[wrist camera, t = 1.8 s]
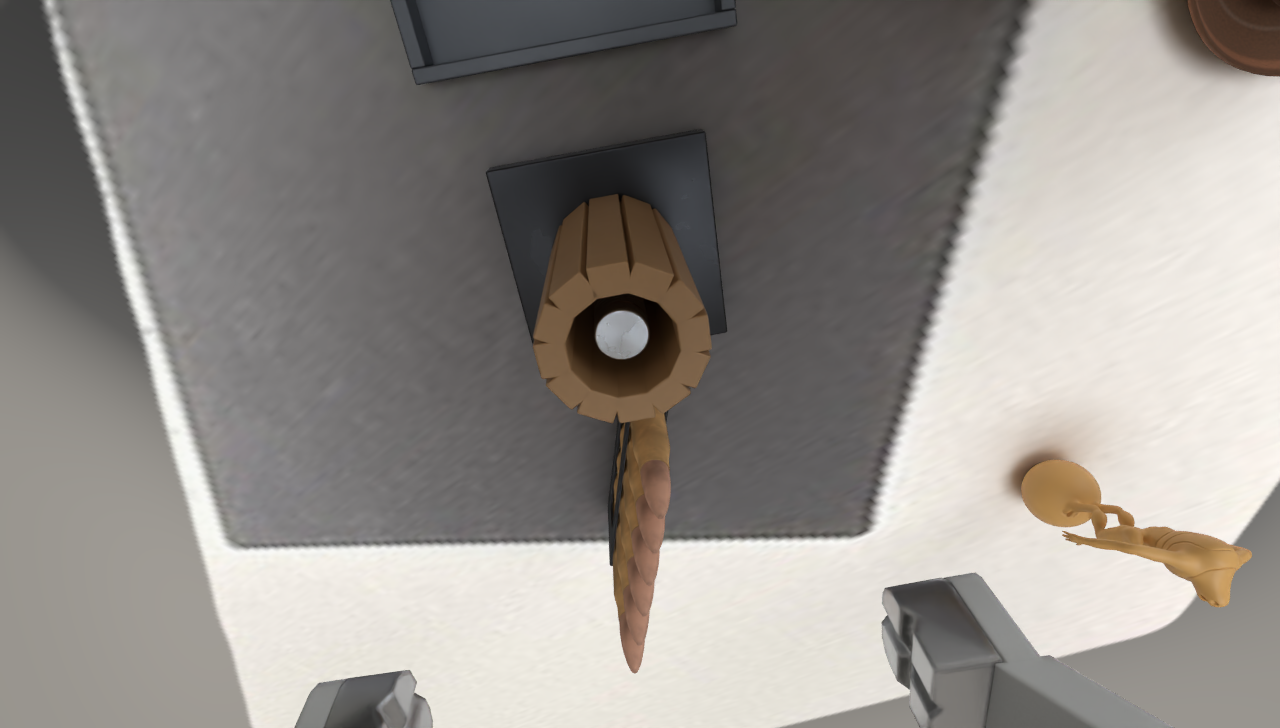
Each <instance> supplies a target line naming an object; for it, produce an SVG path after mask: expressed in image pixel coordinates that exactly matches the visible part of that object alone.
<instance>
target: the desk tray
mask: <svg viewBox="0 0 1280 728" xmlns="http://www.w3.org/2000/svg"><path fill="white" fill-rule="evenodd" d="M390 1H391V4H392V8H393V11H394V14H395V17H396V21H397V24H398V27H399V31H400V34H401V37H402V40H403V44H404V47H405V50H406V53H407V57H408V60H409V63H410V67H411V68H412V73H413V76H414V80H415V83H416V85H421V84H427V83H432V82H437V81H443V80H448V79H453V78H459V77H464V76H469V75H475V74H480V73H486V72H491V71H496V70H502V69H507V68H512V67H518V66H523V65H528V64H534V63H539V62H545V61H550V60H555V59H561V58H566V57H571V56H577V55H582V54H587V53H593V52H598V51H604V50H609V49H614V48H620V47H625V46H630V45H636V44H641V43H646V42H652V41H657V40H663V39H668V38H673V37H679V36H684V35H689V34H695V33H700V32H705V31H711V30H716V29H722V28H727V27H732V26H736V25H737V15H736V9H735V8H736V2H735V0H390Z"/></svg>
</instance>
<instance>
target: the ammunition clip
mask: <svg viewBox="0 0 1280 728" xmlns="http://www.w3.org/2000/svg"><path fill="white" fill-rule="evenodd" d="M655 414H656V416H655V417H654V418H648V419H642V420H637V421H631V422H625V423H620V422H619V420H618V425H617V433H616V442H615V451H614V459H613V468H612V476H611V485H610V493H609V502H608V523H609V555H610V566H613V579H614V596H615V600H616V604H617V607H618V618H619V623H620V636H621V642H622V647H623V651H624V655H625V658H626V661H627V663H628V666H629V668H630V669H631V671H632V672H633V673H637V672H638V670H639V667H640V665H641V662H642V657H643V651H644V642H645V637H646V633H647V628H648V622H649V610H650V608H651V604H652V599H653V593H654V580H655V578H656V575H657V570H658V564H659V549H660V547H661V545H662V541H663V536H664V528H665V515H666V513H667V510H668V506H669V501H670V493H671V482H670V474H669V470H670V469H669V453H670V444H669V439H668V433H667V427H666V421H667V415H668V411H666V412H665V413H663V414H662V413H660V412H659V411H658V410H657V409H656V408H655Z"/></svg>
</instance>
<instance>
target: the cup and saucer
mask: <svg viewBox="0 0 1280 728" xmlns="http://www.w3.org/2000/svg"><path fill="white" fill-rule="evenodd" d="M1187 2H1188V8H1189V11H1190V15H1191V18H1192V21H1193V24H1194V26H1195V28H1196V31H1197V32H1198V34H1199V36H1200V38H1201V39H1202V41H1203V42H1204V43H1205V45H1206V46H1207V47H1208V48H1209V50H1210V51H1212V52H1213V53H1214V54H1215V55H1216V56H1217V57H1218V58H1220V59H1221V60H1223V61H1224V62H1226V63H1227V64H1229V65H1231V66H1233V67H1236V68H1238V69H1240V70H1243V71H1247V72H1250V73H1253V74H1259V75H1265V76H1280V0H1187Z"/></svg>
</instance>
